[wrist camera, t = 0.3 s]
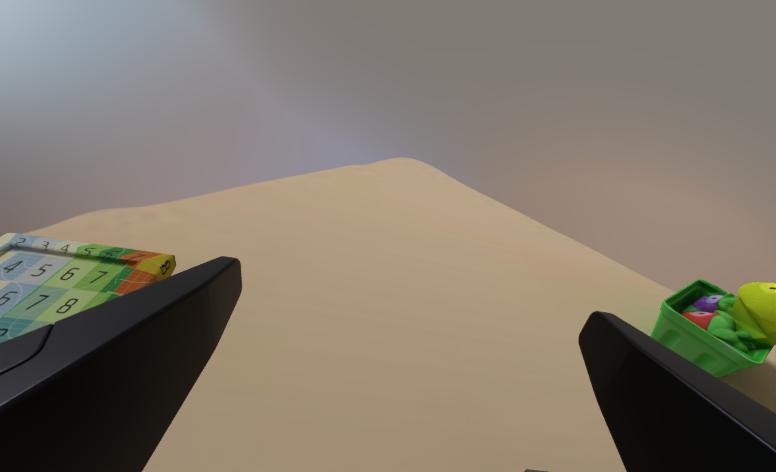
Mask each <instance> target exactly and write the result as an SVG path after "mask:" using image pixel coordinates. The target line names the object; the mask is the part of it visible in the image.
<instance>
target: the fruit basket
mask: <svg viewBox="0 0 776 472" xmlns="http://www.w3.org/2000/svg"><path fill="white" fill-rule="evenodd" d="M660 310H661V313H660V315H659V318H658V320H657V322H656V324H655V327H654V329H653V332H652V334H651V336H650V337H651V338H653V339H654V340H656V341H658V342H659V343H661V344H663V345H664V346H666V347H668V348H669V349H671V350H672V351H674V352H676V353H677V354H679V355H681V356H682V357H684V358H686V359H687V360H689V361H690V362H692V363H694V364H695V365H697V366H699V367H700V368H702V369H704V370H705V371H707V372H708V373H710V374H712V375H713V376H715V377H717V378H720V377H722V376H725V375H727V374H730V373H733V372H735V371H738V370H741V369H743V368H751V367H754V366H757V365H760V364H762V363H763V362H764V360H765V358H766V357H767V355H768V354H769V352H770V351H771V349H772V348H773V346H774V345H776V284H775V283H764V282H754V283H749V284H746V285H743V286H741V287H740V288H739V291H738V296H735V295H733V294H732V293H727V292H726V291H724V290H722V289H721V288H719V287H717V286H715V285H713V284H711V283H709V282H707V281H705V280H702V279H697V280H695V281H694V282H692V283H691V284H689V285H688V286H686V287H684V288H683V289H681V290H679V291H678V292H676V293H675V294H673V295H672V296H670V297H668V298H667V299H665V300H664V301H663V303H662V306H661V308H660Z"/></svg>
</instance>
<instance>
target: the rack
mask: <svg viewBox="0 0 776 472" xmlns="http://www.w3.org/2000/svg"><path fill="white" fill-rule="evenodd" d="M525 472H547V471H538V470H529V469H526V470H525Z"/></svg>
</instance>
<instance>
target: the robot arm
mask: <svg viewBox="0 0 776 472" xmlns="http://www.w3.org/2000/svg"><path fill="white" fill-rule="evenodd" d="M241 290H242V277H241V264H240V261H239V260H238V259H237V258H232V257H225V256H221V257H218V258H216V259H213V260H211V261H208V262H206V263H203V264H201V265H198V266H195V267H193V268H190V269H188V270H185V271H183V272H180V273H178V274H175V275H173V276H170V277H168V278H165V279H162V280H160V281H157V282H155V283H152V284H150V285H147V286H145V287H142V288H140V289H137V290H135V291H132V292H129V293H127V294H124V295H122V296H119V297H117V298H114V299H112V300H109V301H107V302H104V303H102V304H99V305H96V306H94V307H91V308H89V309H86V310H84V311H81V312H79V313H76V314H74V315H71V316H69V317H66V318H63V319H61V320H58V321H56V322H55V323H54V325H53V324H48V325H45V326H43V327H40V328H38V329H35V330H33V331H30V332H28V333H25V334H23V335H20V336H17V337H15V338H12V339H10V340H7V341H4V342H2V343H0V472H142V471H143V469H144V467H145V466H146V464H147V462H148V461H149V459H150V457H151V456H152V454H153V452H154V451H155V449H156V447H157V446H158V444H159V442H160V441H161V439H162V437H163V436H164V434H165V432H166V431H167V429H168V427H169V426H170V424H171V422H172V421H173V419H174V417H175V416H176V414H177V412H178V411H179V409H180V407H181V406H182V404H183V402H184V401H185V399H186V397H187V396H188V394H189V392H190V391H191V389H192V387H193V386H194V384H195V382H196V381H197V379H198V377H199V376H200V374H201V372H202V371H203V369H204V367H205V366H206V364H207V362H208V361H209V359H210V357H211V356H212V354H213V352H214V350H215V349H216V347H217V345H218V343H219V340H220V338H221V336H222V334H223V332H224V330H225V327H226V325H227V323H228V321H229V319H230V316H231V314H232V312H233V310H234V308H235V305H236V303H237V301H238V299H239V297H240V294H241ZM579 346H580V349H581V352H582V356H583V359H584V362H585V365H586V368H587V372H588V375H589V378H590V381H591V384H592V387H593V391H594V394H595V396H596V399H597V402H598V405H599V407H600V410H601V412H602V414H603V417H604V419H605V421H606V424H607V426H608V429H609V431H610V433H611V436H612V438H613V440H614V443H615V445H616V447H617V450H618V452H619V454H620V457H621V459H622V462H623V464H624V466H625V469H626V471H627V472H776V413H774V412H772V411H771V410H769V409H767V408H766V407H764V406H762V405H761V404H759V403H758V402H756V401H754V400H753V399H751V398H749V397H748V396H746V395H744V394H743V393H741V392H740V391H738V390H736V389H735V388H733V387H731V386H730V385H728V384H726V383H725V382H723V381H722V380H720V379H718V378H717V377H715V376H713V375H712V374H710V373H708V372H707V371H705V370H704V369H702V368H700V367H699V366H697V365H695V364H694V363H692V362H690V361H689V360H687V359H686V358H684V357H682V356H681V355H679V354H677V353H676V352H674V351H672V350H671V349H669V348H668V347H666V346H664V345H663V344H661V343H659V342H658V341H656V340H654V339H653V338H651V337H650V336H648V335H646V334H645V333H643V332H641V331H640V330H638V329H636V328H635V327H633V326H632V325H630V324H628V323H627V322H625V321H623V320H622V319H620V318H618V317H617V316H615V315H613V314H611V313H606V312H599V311H595V312H593V313H592V314H591V315H590V316H589V318H588V320H587V321H586V323H585V325H584V327H583V329H582V330H581V332H580V334H579Z"/></svg>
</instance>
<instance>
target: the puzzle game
mask: <svg viewBox="0 0 776 472" xmlns="http://www.w3.org/2000/svg"><path fill="white" fill-rule="evenodd" d="M175 267H176V261H175V256H174V255H169V254H162V253H154V252H147V251H140V250H133V249H125V248H118V247H111V246H103V245H96V244H89V243H82V242H74V241H67V240H60V239H52V238H45V237H38V236H31V235H23V234H16V233H7V234H5V235H3V236H1V237H0V343H2V342H4V341H7V340H10V339H12V338H15V337H17V336H20V335H23V334H25V333H28V332H30V331H33V330H35V329H38V328H40V327H43V326H45V325H48V324H53V325H54V323H55V322H56V321H58V320H61V319H63V318H66V317H69V316H71V315H74V314H76V313H79V312H81V311H84V310H86V309H89V308H91V307H94V306H96V305H99V304H102V303H104V302H107V301H109V300H112V299H114V298H117V297H119V296H122V295H124V294H127V293H129V292H132V291H135V290H137V289H140V288H142V287H145V286H147V285H150V284H152V283H155V282H157V281H160V280H162V279H165V278H168V277H170V276H171V274H172V273H173V271H174V269H175Z"/></svg>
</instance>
